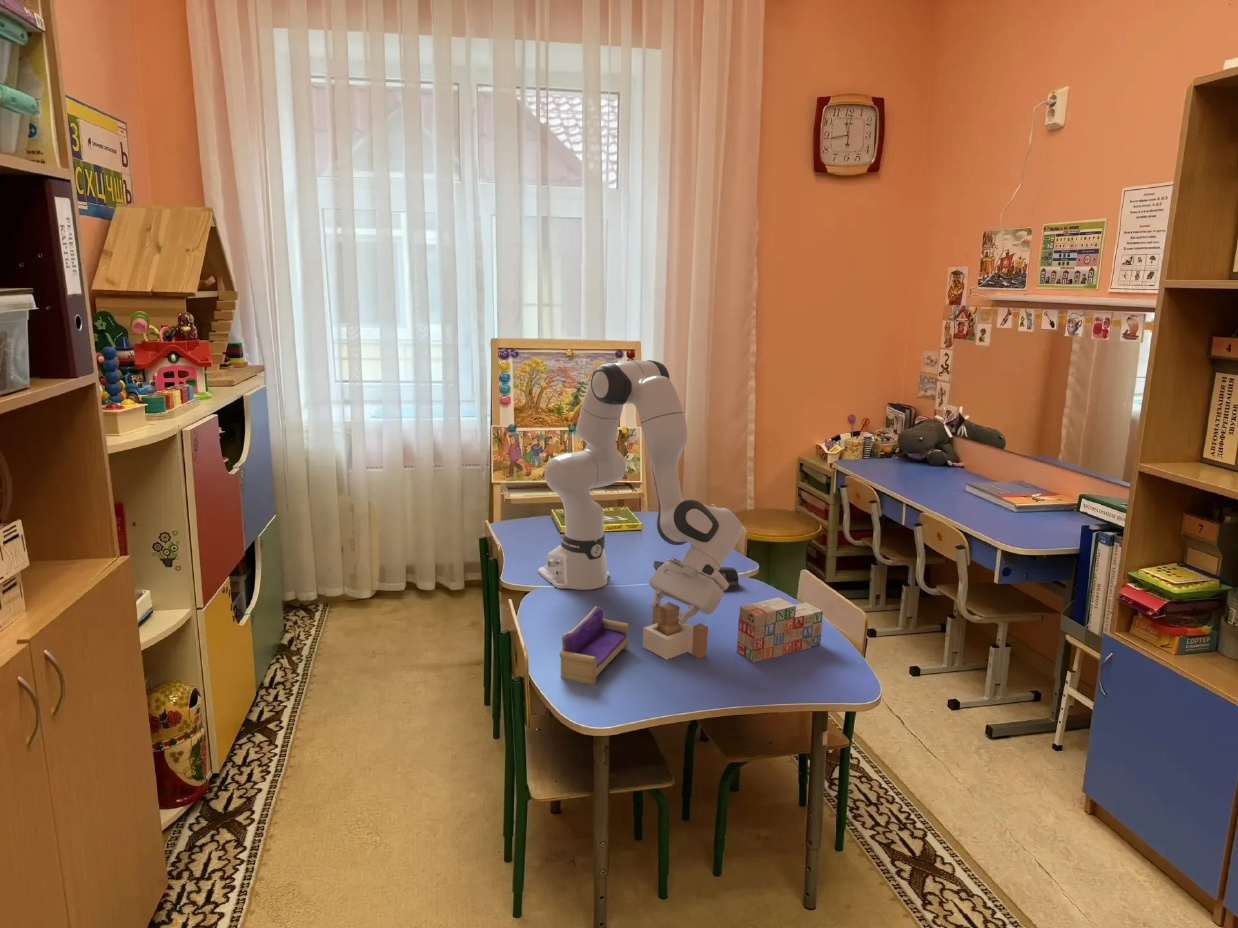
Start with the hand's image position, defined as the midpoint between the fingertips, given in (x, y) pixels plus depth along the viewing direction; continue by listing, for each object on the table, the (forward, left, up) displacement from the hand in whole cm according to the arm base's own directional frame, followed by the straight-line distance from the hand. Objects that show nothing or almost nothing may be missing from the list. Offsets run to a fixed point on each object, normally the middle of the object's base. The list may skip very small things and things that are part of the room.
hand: (666, 614), depth 199 cm
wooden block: (0, +1, -9) cm, 9 cm away
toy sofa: (-4, -18, -9) cm, 21 cm away
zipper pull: (-26, +36, -9) cm, 45 cm away
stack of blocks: (+16, +23, -9) cm, 30 cm away
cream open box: (0, +1, -9) cm, 9 cm away
